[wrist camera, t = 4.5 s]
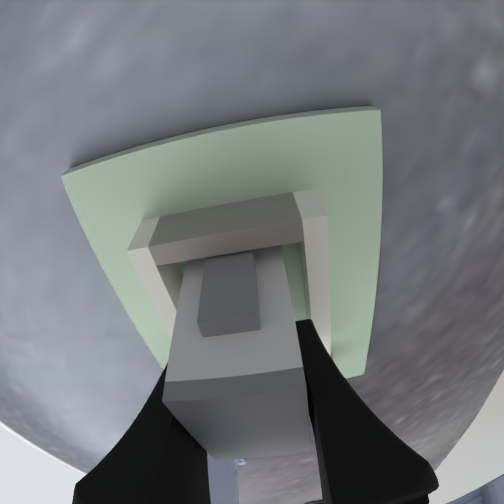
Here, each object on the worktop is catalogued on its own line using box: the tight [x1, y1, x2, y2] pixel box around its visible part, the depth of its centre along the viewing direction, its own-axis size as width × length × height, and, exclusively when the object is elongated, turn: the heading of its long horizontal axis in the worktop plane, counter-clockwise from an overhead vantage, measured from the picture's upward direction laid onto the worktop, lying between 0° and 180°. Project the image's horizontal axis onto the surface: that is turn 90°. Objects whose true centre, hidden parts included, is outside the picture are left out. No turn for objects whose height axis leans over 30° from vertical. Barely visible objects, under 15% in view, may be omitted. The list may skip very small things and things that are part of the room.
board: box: [60, 106, 383, 378], centre depth 14 cm, size 16×12×3 cm
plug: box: [162, 245, 311, 461], centre depth 11 cm, size 6×4×6 cm, turn 10°
